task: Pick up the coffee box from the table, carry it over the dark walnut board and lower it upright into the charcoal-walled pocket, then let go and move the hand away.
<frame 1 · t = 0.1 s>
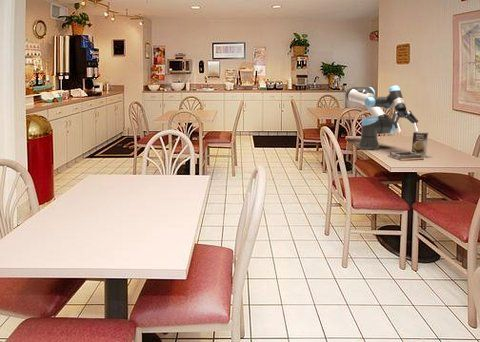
hand: (408, 132, 331), 15 cm above the table, tool tilted 35°, fingers open, 13 cm apart
coffee box: (418, 156, 326), on the table
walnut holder: (405, 158, 317), on the table
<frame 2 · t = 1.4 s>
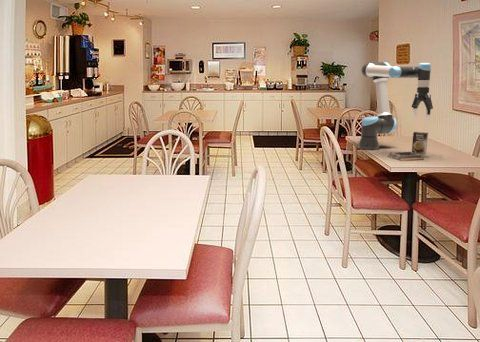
hand: (421, 119, 321), 25 cm above the table, tool pointing down, fingers open, 13 cm apart
nothing on the table moved.
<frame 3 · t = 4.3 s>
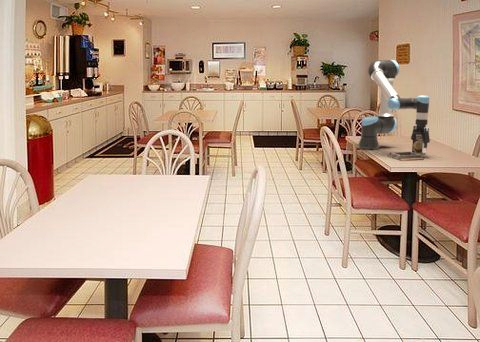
hand: (419, 151, 325), 3 cm above the table, tool pointing down, fingers closed on coffee box, 10 cm apart
coffee box: (418, 156, 326), on the table, touching gripper
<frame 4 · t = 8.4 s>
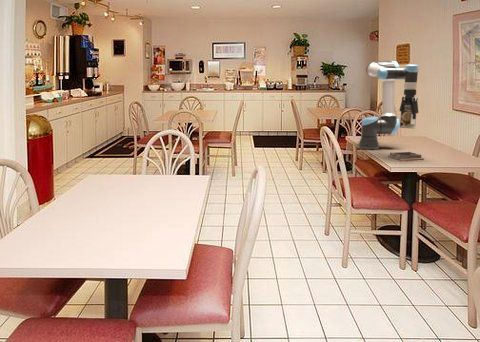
hand: (407, 123, 313), 23 cm above the table, tool pointing down, fingers closed on coffee box, 10 cm apart
coffee box: (407, 128, 313), point 20 cm above the table, touching gripper
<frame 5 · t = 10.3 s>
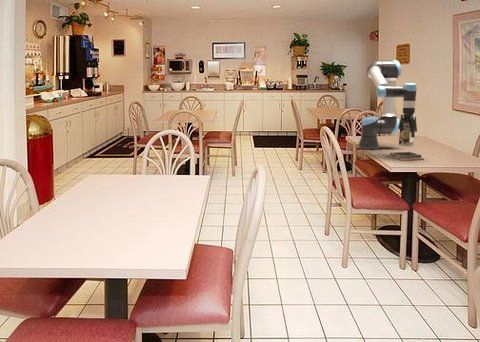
hand: (406, 141, 315), 11 cm above the table, tool pointing down, fingers closed on coffee box, 10 cm apart
coffee box: (406, 145, 316), point 8 cm above the table, touching gripper
when the fingers open (6 cm above the table, at t = 12.5 s): coffee box stays where it is, resting on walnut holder.
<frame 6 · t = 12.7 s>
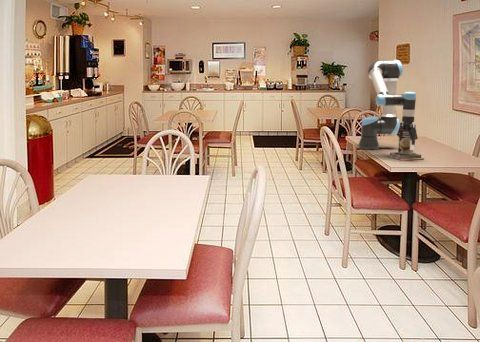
hand: (406, 148, 316), 7 cm above the table, tool pointing down, fingers open, 13 cm apart
coffee box: (405, 154, 317), point 3 cm above the table, touching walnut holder
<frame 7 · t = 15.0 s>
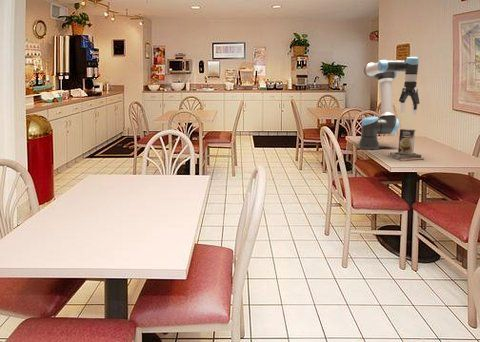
hand: (407, 113, 317), 29 cm above the table, tool pointing down, fingers open, 13 cm apart
nothing on the table moved.
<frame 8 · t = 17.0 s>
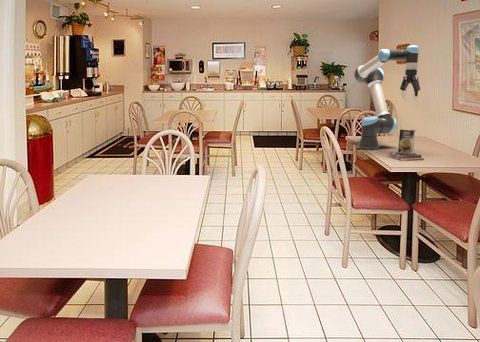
hand: (409, 100, 330), 37 cm above the table, tool pointing down, fingers open, 13 cm apart
nothing on the table moved.
at the end: coffee box inside the target area on the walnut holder (0.0 cm from its centre), point 2.8 cm above the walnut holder's base; coffee box tilted 0°; the gripper is holding nothing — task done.
